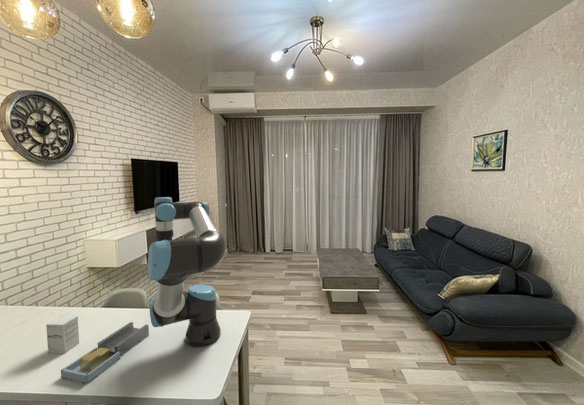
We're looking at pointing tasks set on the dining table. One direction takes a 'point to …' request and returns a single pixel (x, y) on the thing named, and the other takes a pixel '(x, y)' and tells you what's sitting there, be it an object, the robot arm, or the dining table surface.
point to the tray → (84, 376)
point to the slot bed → (124, 339)
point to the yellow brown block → (89, 362)
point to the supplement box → (62, 334)
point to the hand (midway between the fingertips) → (166, 277)
